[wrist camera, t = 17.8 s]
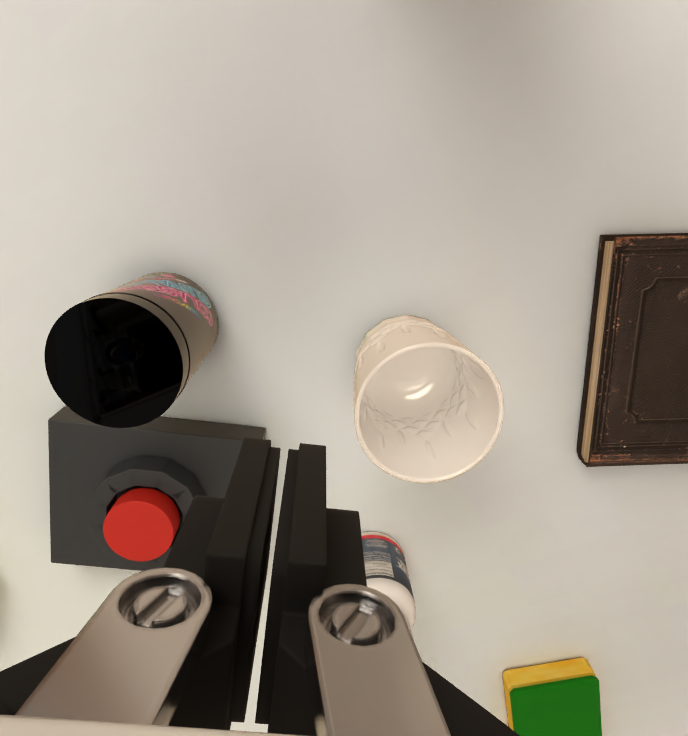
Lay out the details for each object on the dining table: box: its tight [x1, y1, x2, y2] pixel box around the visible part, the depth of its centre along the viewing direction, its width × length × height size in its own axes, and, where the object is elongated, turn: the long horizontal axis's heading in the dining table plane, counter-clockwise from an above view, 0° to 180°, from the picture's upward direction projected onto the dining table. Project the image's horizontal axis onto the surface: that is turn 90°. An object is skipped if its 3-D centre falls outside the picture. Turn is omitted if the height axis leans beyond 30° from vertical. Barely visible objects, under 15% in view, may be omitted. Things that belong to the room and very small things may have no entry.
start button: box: [103, 488, 180, 561], centre depth 36 cm, size 4×4×2 cm
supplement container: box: [45, 272, 218, 428], centre depth 33 cm, size 7×7×10 cm
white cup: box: [354, 315, 504, 483], centre depth 34 cm, size 8×8×10 cm
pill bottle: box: [361, 532, 416, 635], centre depth 39 cm, size 5×5×9 cm
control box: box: [48, 407, 266, 571], centre depth 39 cm, size 11×14×4 cm
